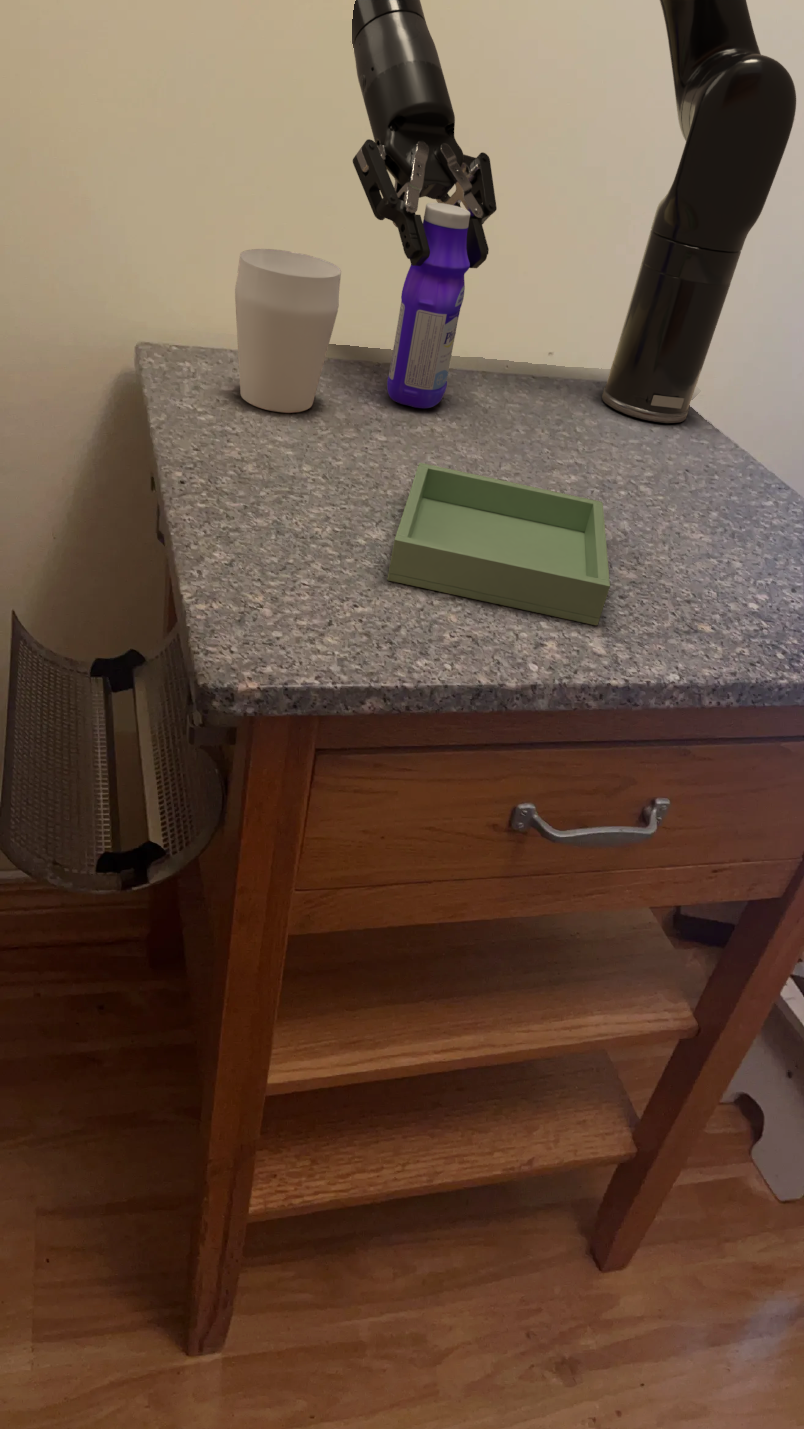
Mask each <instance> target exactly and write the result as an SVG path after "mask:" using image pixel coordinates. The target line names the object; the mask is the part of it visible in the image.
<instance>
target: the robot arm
mask: <svg viewBox="0 0 804 1429" xmlns="http://www.w3.org/2000/svg"><path fill="white" fill-rule="evenodd" d="M659 3H660V6H661V10H662V15H663V19H664V24H665V31H666V36H667V43H668V50H669V56H670V57H669V58H670V64H671V72H672V79H673V80H672V81H673V87H674V96H675V105H676V106H675V107H676V112H677V120H678V126H679V129H680V132H681V135H682V137H683V139H684V141H685V144H684V147H683V150H682V153H681V157H680V160H679V163H678V166H677V168H676V169H677V170H676V173H675V176H674V177H673V178H674V179H673V181H672V184H671V186H670V188H669V190H668V191H667V194H665V196H664V197H663V198H662V199H661V200H660V202H658V204H657V207H656V210H655V212H654V217H653V221H652V224H651V227H650V232H649V235H648V239H647V242H646V244H645V248H644V252H643V256H642V259H641V263H640V267H639V270H638V274H637V276H636V277H637V278H636V280H635V284H634V288H633V291H632V295H631V298H630V301H629V305H628V308H627V312H626V315H625V319H624V322H623V325H622V329H621V332H620V336H619V340H618V343H617V347H616V350H615V353H614V357H613V360H612V363H611V367H610V369H609V374H608V377H607V381H606V384H605V386H604V387H603V390H602V391H603V392H602V394H601V399H602V401H603V402H604V403H605V404H606V406H609V407H610V408H611V409H614V410H615V411H618V412H620V413H622V414H624V415H626V416H630V417H633V418H636V419H640V420H644V421H647V422H654V423H663V424H676V423H681V422H684V421H685V420H687V417H688V414H689V412H690V405H691V402H692V399H693V396H694V393H695V390H696V387H697V385H698V382H699V380H700V379H699V378H700V376H701V373H702V370H703V367H704V364H705V361H706V358H707V355H708V353H709V349H710V346H711V343H712V340H713V337H714V333H715V332H716V329H717V325H718V322H719V319H720V316H721V313H722V311H723V308H724V305H725V301H726V298H727V296H728V293H729V289H730V286H731V284H732V280H733V277H734V275H735V272H736V269H737V265H738V262H739V259H740V257H741V253H742V251H743V247H744V245H745V242H746V239H747V237H748V235H749V233H750V231H751V230H752V228H753V227H754V226H755V224H756V223H757V221H758V219H759V218H760V216H761V214H762V212H763V209H764V207H765V204H766V202H767V199H768V196H769V194H770V192H771V189H772V186H773V183H774V180H775V179H776V175H777V174H778V170H779V167H780V164H781V162H782V159H783V157H784V154H785V151H786V148H787V146H788V143H789V139H790V136H791V133H792V129H793V126H794V123H795V117H796V112H797V111H796V110H797V92H796V86H795V83H794V80H793V78H792V76H791V74H790V72H789V71H788V70H787V68H785V66H784V65H783V64H782V63H780V61H778V60H776V59H775V58H773V57H770V56H767V55H764V54H761V51H760V47H759V45H758V42H757V38H756V34H755V30H754V27H753V23H752V19H751V14H750V11H749V6H748V2H747V0H659ZM426 21H427V20H426V18H425V14H424V10H423V6H422V3H421V0H356V1H355V4H354V10H353V19H352V44H353V48H354V52H353V55H354V56H353V57H354V62H355V69H356V70H355V71H356V76H357V80H358V83H359V88H360V92H361V97H362V99H363V103H364V106H365V111H366V115H367V118H368V121H369V125H370V129H371V134H372V136H373V139H366V140H365V141H364V143H363V144H362V145H361V147H360V149H359V150H358V151H357V152H356V154H355V155H354V157H353V158H352V164H353V167H354V169H355V172H356V174H357V176H358V179H359V181H360V184H361V186H362V189H363V191H364V193H365V196H366V199H367V201H368V203H369V205H370V208H371V210H372V213H373V215H374V217H375V218H376V220H378V221H384V220H385V219H387V220H389V221H391V222H392V224H393V225H394V226H395V227H396V228H397V230H398V234H399V238H400V241H401V245H402V249H403V253H404V255H405V257H406V259H408V260H409V262H410V266H411V265H413V266H421V265H422V264H423V263H424V262H425V261H426V260H427V258H428V257H429V255H430V249H429V245H428V241H427V238H426V234H425V230H424V227H423V219H422V216H421V214H416V213H417V211H418V208H419V201H420V200H419V199H420V198H428V199H431V200H435V201H436V203H443V204H449V205H454V206H458V207H461V208H462V206H461V203H462V205H463V207H464V209H466V210H468V211H469V212H470V219H469V226H468V231H467V244H466V249H467V256H468V259H469V263H470V267H469V269H478V268H479V267H480V266H481V265H482V264H483V263H484V262H485V261H486V260H487V257H488V255H489V249H490V248H489V245H488V242H487V237H486V234H485V232H484V231H485V229H484V227H483V225H484V224H485V222H486V221H487V220H488V219H489V218H490V217H491V216H492V215H493V214H495V212H496V211H497V201H496V194H495V186H494V181H493V180H494V179H493V172H492V166H491V159H490V156H489V155H488V154H487V153H486V152H480V153H479V154H477V156H476V157H475V156H471V155H468V154H464V151H463V150H462V148H461V147H460V145H459V143H458V142H457V140H456V138H455V127H456V126H455V124H456V117H455V116H456V115H455V112H454V108H453V105H452V100H451V97H450V93H449V90H448V85H447V83H446V78H445V75H444V72H443V67H442V64H441V61H440V57H439V54H438V51H437V47H436V45H435V41H434V39H433V37H432V34H431V32H430V30H429V26H428V24H427V22H426ZM352 44H351V45H352ZM353 48H352V49H353ZM390 175H391V176H392V177H393V178H394V184H393V182H392V179H391V177H390ZM454 186H455V191H454V192H453V193H452V194H451V195H449V192H450V191H451V190H452V188H453V187H454Z"/></svg>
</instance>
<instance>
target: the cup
mask: <svg viewBox="0 0 804 1429" xmlns="http://www.w3.org/2000/svg"><path fill="white" fill-rule="evenodd" d="M341 275H342V270H341V268H340V267H339V266H338V265H336V264H334V263H333V262H331V261H328V260H326V259H322V258H320V257H316V256H313V255H310V254H306V253H300V252H296V251H290V250H282V249H273V248H253V249H252V248H251V249H246V250H244V251H241V252H240V253H239V259H238V267H237V275H236V281H235V286H234V301H235V304H234V305H235V320H236V338H237V356H238V357H237V358H238V372H239V388H240V389H239V390H240V391H239V392H240V393H239V394H240V396H241V399H243V400H244V401H245V402H246V403H248V404H249V405H251V406H253V407H255V408H258V409H261V410H264V411H265V410H266V411H270V412H275V413H285V414H291V413H292V414H294V413H301V412H304V411H307V410H308V409H311V408H312V407H313V404H314V400H315V396H316V394H317V390H318V386H319V382H320V378H321V374H322V371H323V368H324V363H325V360H326V356H327V352H328V349H329V346H330V341H331V338H332V334H333V330H334V327H335V323H336V319H337V317H338V316H337V315H338V312H339V307H340V290H341V289H340V287H341V278H342V276H341Z"/></svg>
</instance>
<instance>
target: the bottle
mask: <svg viewBox="0 0 804 1429" xmlns="http://www.w3.org/2000/svg"><path fill="white" fill-rule="evenodd" d="M469 219H470V212H469V211H468V210H467V209H466V208H465V207H462V206H461V207H458V206H454V205H449V204H443V203H438V202H428V203H426V204H425V210H424V215H423V219H422V223H423V227H424V230H425V234H426V238H427V241H428V245H429V249H430V255H429V257H428V258H427V260H426V261H425V262H424V263H423V264H422V265H421V266H413V265H411V264H410V266H409V268H408V271H407V273H406V276H405V278H404V282H403V285H402V290H401V297H400V299H401V300H400V306H399V313H398V319H397V325H396V331H395V336H394V342H393V349H392V354H391V360H390V366H389V373H388V375H387V381H386V388H387V394H388V396H389V398H390V399H391V400H392V401H394V402H396V403H398V404H399V405H403V406H408V407H412V408H414V409H430V408H434V407H435V406H437V405H438V404H439V403H440V402H441V401H442V399H443V397H444V395H445V393H446V390H447V386H448V376H449V371H450V365H451V359H452V353H453V349H454V344H455V338H456V334H457V327H458V323H459V316H460V312H461V308H462V306H463V302H464V297H465V289H466V286H465V274H466V273H467V272H468V271H469V269H470V268H469V267H470V263H469V259H468V256H467V249H466V244H467V231H468V226H469Z"/></svg>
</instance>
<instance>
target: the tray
mask: <svg viewBox="0 0 804 1429" xmlns="http://www.w3.org/2000/svg"><path fill="white" fill-rule="evenodd" d="M605 522H606V521H605V512H604V503H603V501H601V500H596V499H591V498H586V497H582V496H577V495H573V494H569V493H564V492H558V491H554V490H550V489H545V488H541V487H534V486H530V485H527V484H522V483H516V482H512V481H507V480H504V479H499V478H494V477H489V476H484V475H480V474H476V473H470V472H466V471H461V470H456V469H452V468H447V467H444V466H438V465H434V464H429V463H424V462H419V463H418V465H417V467H416V472H415V475H414V478H413V481H412V484H411V487H410V490H409V493H408V497H407V499H406V503H405V505H404V509H403V512H402V516H401V517H400V521H399V524H398V528H397V531H396V534H395V537H394V539H393V546H392V552H391V556H390V562H389V567H388V573H387V578H386V580H387V581H389V582H393V583H398V584H403V585H406V586H407V585H408V586H412V587H416V588H421V589H425V590H431V591H435V592H440V593H445V594H450V595H454V596H458V597H463V598H467V599H472V600H477V601H482V602H487V603H490V604H494V605H500V606H505V607H510V608H514V609H518V610H523V611H528V612H533V613H537V614H541V615H547V616H551V617H556V618H559V619H564V620H570V621H573V622H579V623H583V624H588V625H593V626H598V625H599V622H600V619H601V617H602V612H603V610H604V606H605V604H606V600H607V597H608V596H609V595H608V594H609V592H610V589H611V581H610V568H609V558H608V547H607V536H606V524H605Z"/></svg>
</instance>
